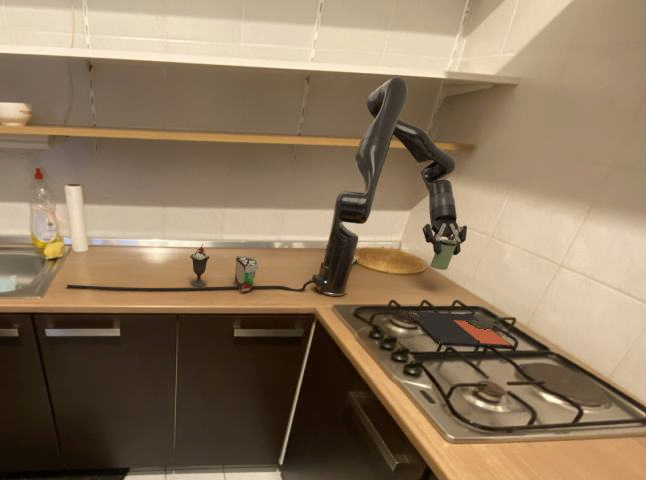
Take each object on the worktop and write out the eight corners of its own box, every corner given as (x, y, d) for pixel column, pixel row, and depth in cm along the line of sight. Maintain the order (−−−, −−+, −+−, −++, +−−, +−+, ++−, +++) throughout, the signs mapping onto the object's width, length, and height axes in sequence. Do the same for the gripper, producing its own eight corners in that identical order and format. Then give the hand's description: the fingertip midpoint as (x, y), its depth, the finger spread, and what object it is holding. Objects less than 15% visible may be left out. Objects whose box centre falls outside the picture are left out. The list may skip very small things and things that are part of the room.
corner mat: (437, 344, 105) (439, 341, 104) (406, 313, 122) (407, 310, 122) (512, 348, 104) (514, 345, 104) (470, 316, 122) (471, 314, 121)
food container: (260, 294, 131) (264, 266, 126) (242, 295, 130) (246, 266, 125) (249, 281, 142) (252, 254, 136) (233, 281, 141) (236, 255, 136)
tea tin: (434, 269, 131) (444, 243, 126) (426, 264, 135) (436, 238, 131) (450, 270, 130) (461, 244, 126) (442, 265, 135) (452, 239, 131)
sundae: (199, 289, 133) (202, 246, 126) (185, 283, 137) (187, 242, 129) (211, 284, 137) (214, 242, 130) (197, 279, 141) (199, 238, 134)
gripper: (456, 217, 136) (461, 260, 132) (415, 215, 137) (419, 257, 132) (470, 204, 129) (477, 249, 125) (427, 202, 129) (432, 246, 125)
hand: (447, 253), depth 129 cm, fingers closed on tea tin, 5 cm apart
